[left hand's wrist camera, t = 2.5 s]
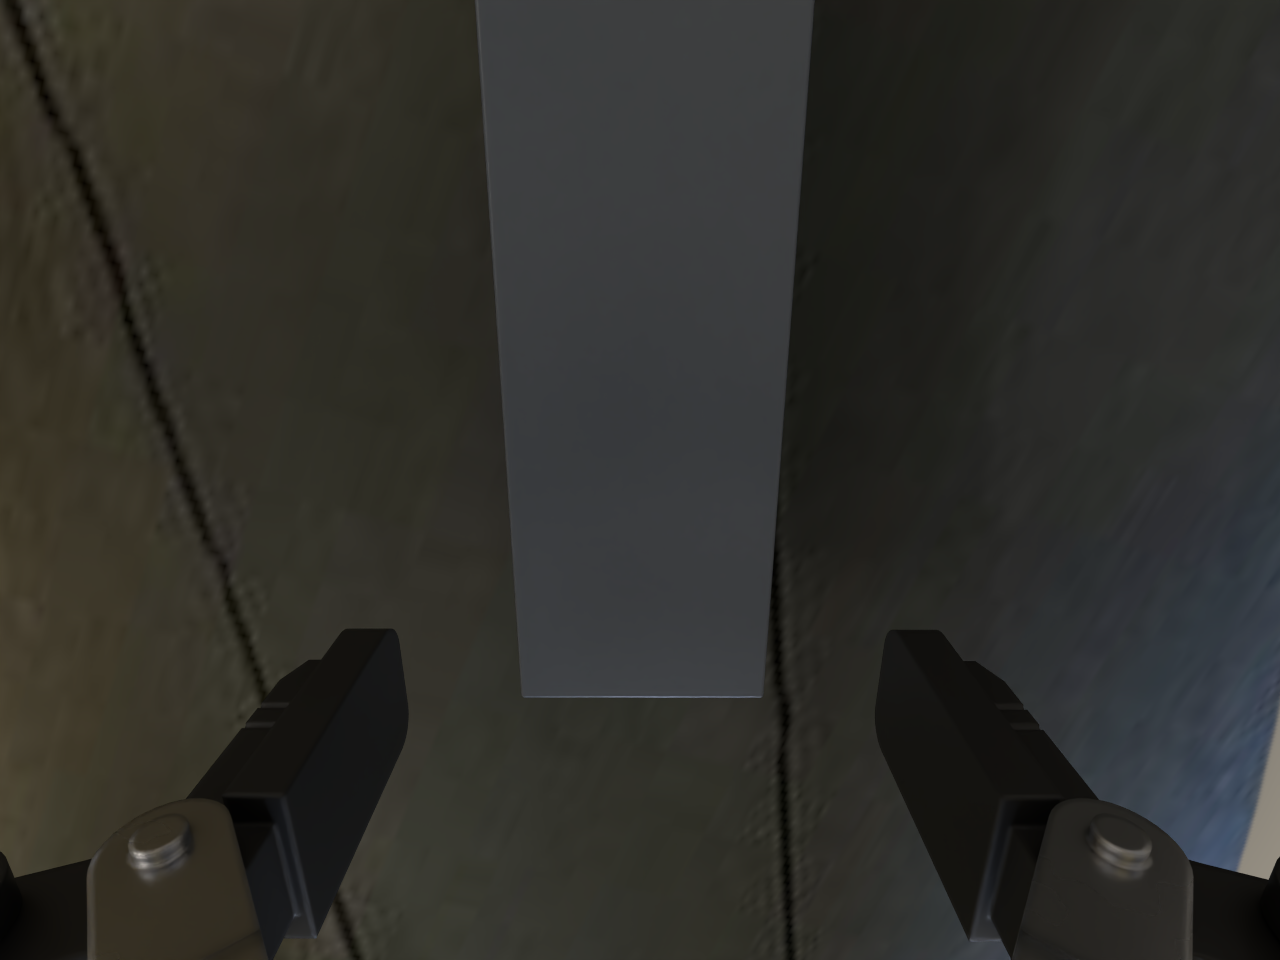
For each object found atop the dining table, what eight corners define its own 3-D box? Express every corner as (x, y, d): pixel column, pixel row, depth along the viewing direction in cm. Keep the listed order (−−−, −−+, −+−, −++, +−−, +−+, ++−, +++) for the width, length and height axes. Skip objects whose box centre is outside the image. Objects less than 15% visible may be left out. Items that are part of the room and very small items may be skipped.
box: (719, 531, 27) (764, 698, 17) (563, 531, 27) (520, 699, 17) (762, -446, 18) (909, -1249, 8) (525, -446, 18) (388, -1252, 8)
